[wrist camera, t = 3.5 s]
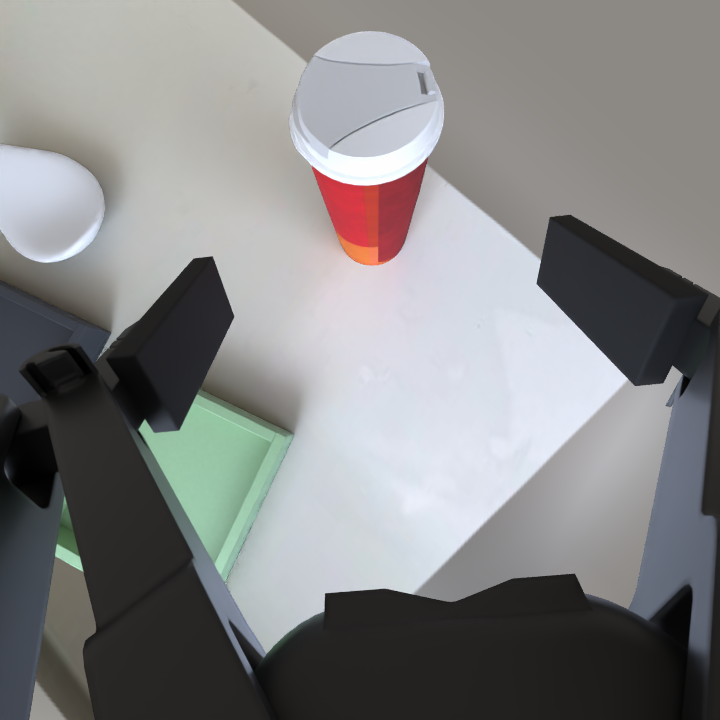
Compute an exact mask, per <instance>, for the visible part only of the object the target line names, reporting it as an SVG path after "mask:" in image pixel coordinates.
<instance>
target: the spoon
mask: <svg viewBox="0 0 720 720" xmlns="http://www.w3.org/2000/svg"><path fill="white" fill-rule="evenodd" d="M104 213H105V204H104V196H103V192H102V189H101V186H100V184H99V182H98V181H97V179H96V178H95V177H94V175H93V174H92V173H91V172H90V171H88V170H87V169H86V168H85V167H83V166H82V165H80V164H79V163H77V162H76V161H74V160H72V159H71V158H69V157H67V156H64V155H62V154H59V153H55V152H51V151H46V150H40V149H33V148H26V147H19V146H12V145H6V144H1V143H0V230H1V231H2V233H3V234H4V236H5V237H6V239H7V240H8V241H9V243H10V244H11V245H12V246H13V247H14V249H15V250H16V251H18V252H19V253H20V254H21V255H23V256H25V257H27V258H29V259H31V260H34V261H38V262H46V263H47V262H56V261H61V260H65V259H67V258H70V257H72V256H74V255H76V254H78V253H79V252H81V251H82V250H83V249H85V248H86V247H87V246H88V245H89V244H90V243H91V242H92V241H93V239H94V238H95V236H96V235H97V233H98V232H99V229H100V227H101V224H102V221H103V218H104Z"/></svg>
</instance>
